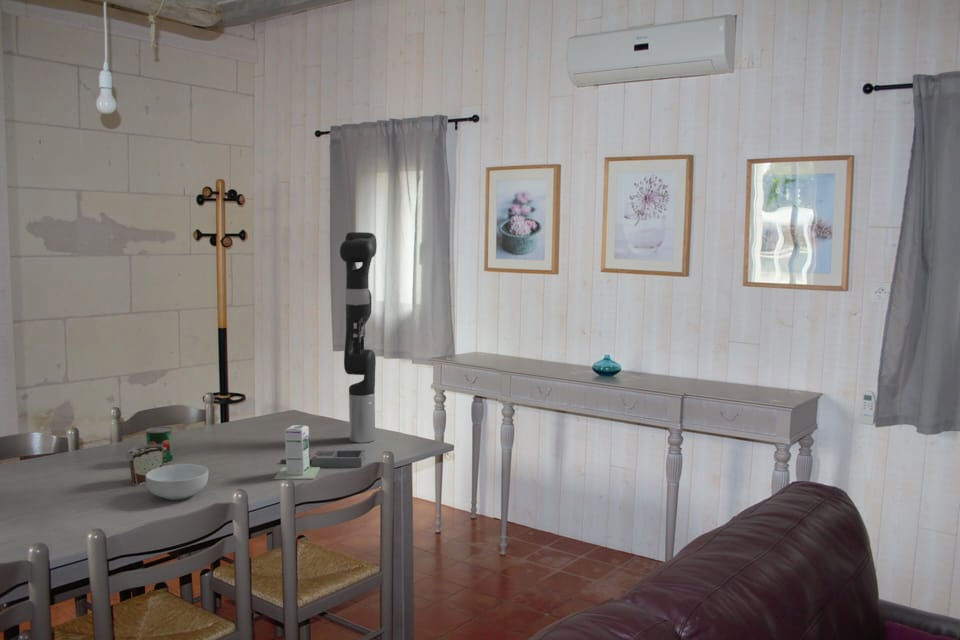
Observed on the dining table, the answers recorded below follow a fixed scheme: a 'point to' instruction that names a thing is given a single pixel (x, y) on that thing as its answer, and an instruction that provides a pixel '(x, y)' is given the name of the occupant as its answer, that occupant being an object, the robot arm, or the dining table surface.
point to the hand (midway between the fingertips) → (358, 351)
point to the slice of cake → (144, 461)
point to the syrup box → (297, 450)
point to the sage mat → (307, 475)
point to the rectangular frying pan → (337, 458)
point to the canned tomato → (161, 440)
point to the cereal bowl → (177, 480)
